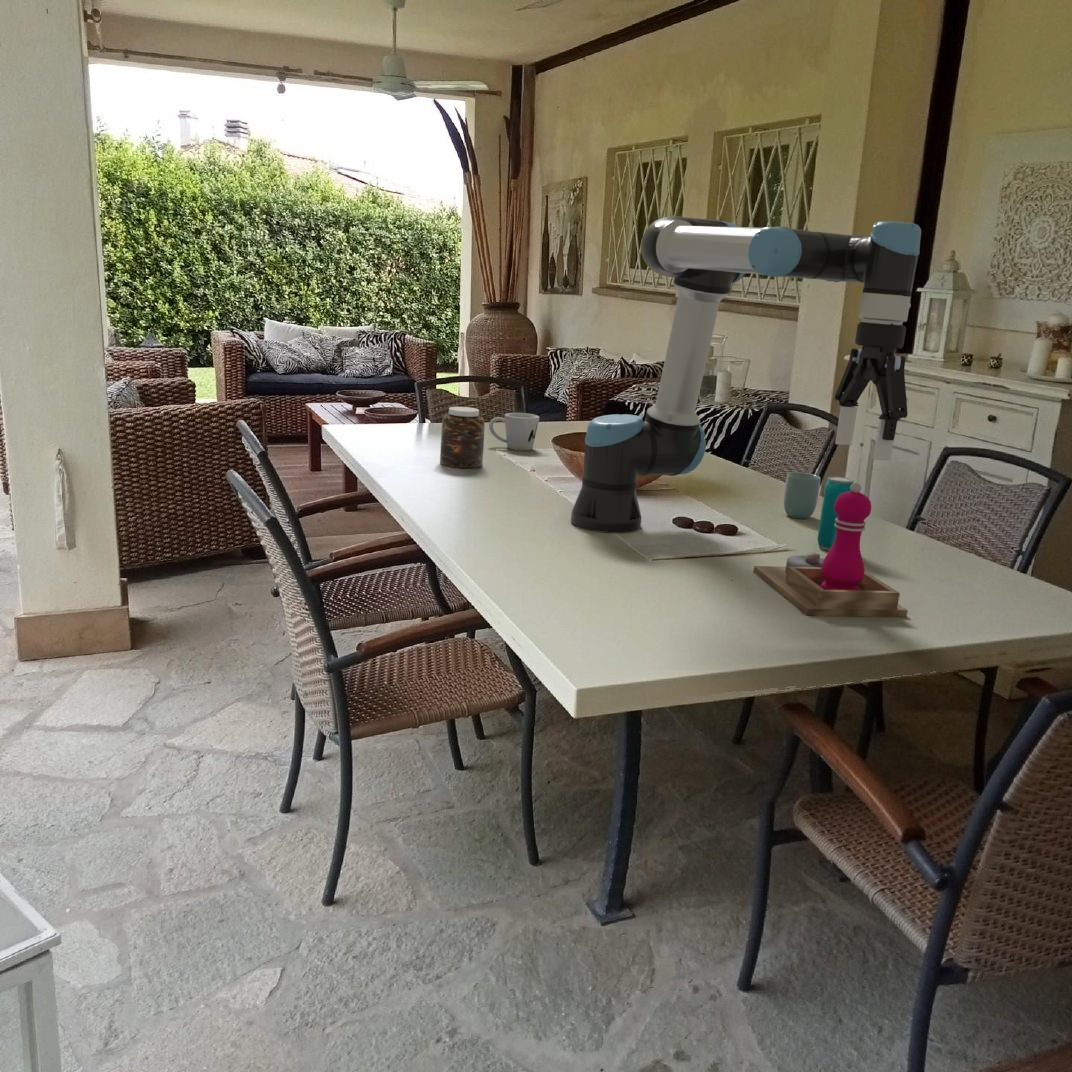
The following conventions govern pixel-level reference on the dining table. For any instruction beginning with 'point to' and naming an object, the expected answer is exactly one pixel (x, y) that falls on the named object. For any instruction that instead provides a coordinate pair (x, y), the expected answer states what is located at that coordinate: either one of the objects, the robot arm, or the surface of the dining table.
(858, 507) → the pepper mill
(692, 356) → the robot arm
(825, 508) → the beverage can
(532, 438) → the mug
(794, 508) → the cup
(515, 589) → the dining table surface
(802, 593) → the pulley board
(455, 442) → the jar
